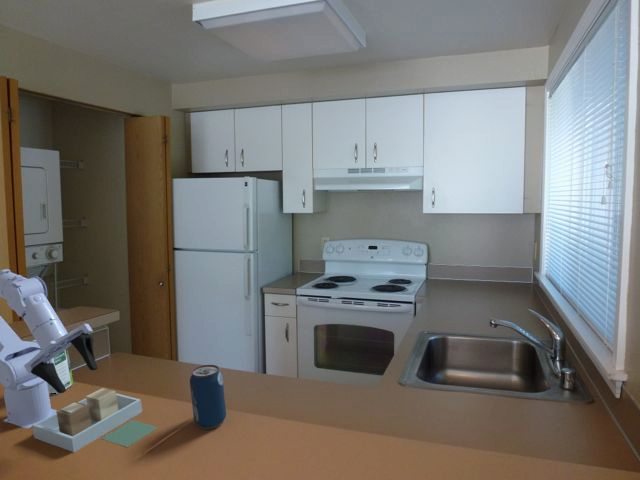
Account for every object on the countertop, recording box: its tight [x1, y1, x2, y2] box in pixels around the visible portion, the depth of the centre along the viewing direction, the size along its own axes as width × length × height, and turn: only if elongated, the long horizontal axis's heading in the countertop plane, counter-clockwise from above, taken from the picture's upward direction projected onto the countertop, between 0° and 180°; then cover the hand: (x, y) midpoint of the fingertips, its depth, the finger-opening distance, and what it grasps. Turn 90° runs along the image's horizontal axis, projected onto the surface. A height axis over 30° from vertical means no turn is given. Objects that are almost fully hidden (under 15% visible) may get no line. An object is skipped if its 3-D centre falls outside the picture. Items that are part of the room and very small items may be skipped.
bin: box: [32, 392, 143, 453], centre depth 108 cm, size 13×17×4 cm
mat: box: [100, 419, 159, 448], centre depth 103 cm, size 8×8×1 cm
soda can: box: [189, 364, 227, 430], centre depth 106 cm, size 7×7×12 cm
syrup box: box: [30, 339, 74, 395], centre depth 127 cm, size 6×6×14 cm
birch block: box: [85, 387, 118, 422], centre depth 110 cm, size 4×4×6 cm
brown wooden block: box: [56, 401, 91, 436], centre depth 104 cm, size 4×4×6 cm
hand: (78, 380), depth 101 cm, fingers open, 7 cm apart
